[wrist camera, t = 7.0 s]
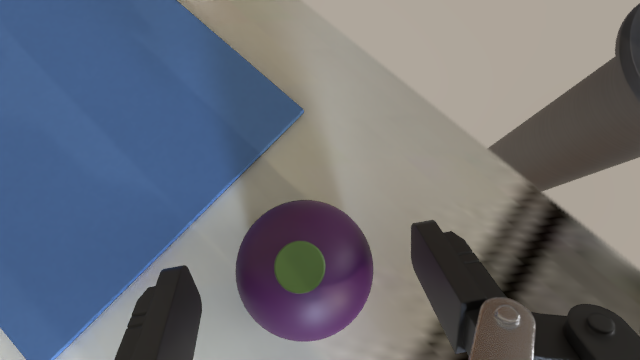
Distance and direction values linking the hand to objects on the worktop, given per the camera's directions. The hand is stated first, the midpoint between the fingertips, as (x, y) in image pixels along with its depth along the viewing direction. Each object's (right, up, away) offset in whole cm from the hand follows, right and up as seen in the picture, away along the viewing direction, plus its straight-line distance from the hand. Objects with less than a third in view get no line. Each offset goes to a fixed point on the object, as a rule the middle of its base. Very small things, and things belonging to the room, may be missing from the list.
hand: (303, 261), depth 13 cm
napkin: (-14, +7, +7) cm, 17 cm away
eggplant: (0, -2, +5) cm, 6 cm away
